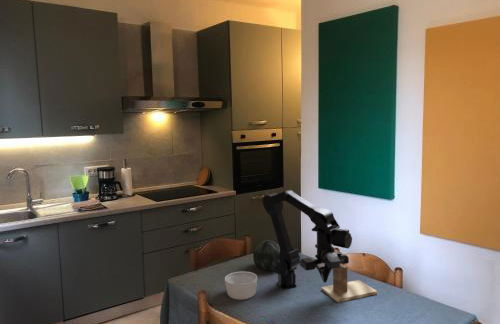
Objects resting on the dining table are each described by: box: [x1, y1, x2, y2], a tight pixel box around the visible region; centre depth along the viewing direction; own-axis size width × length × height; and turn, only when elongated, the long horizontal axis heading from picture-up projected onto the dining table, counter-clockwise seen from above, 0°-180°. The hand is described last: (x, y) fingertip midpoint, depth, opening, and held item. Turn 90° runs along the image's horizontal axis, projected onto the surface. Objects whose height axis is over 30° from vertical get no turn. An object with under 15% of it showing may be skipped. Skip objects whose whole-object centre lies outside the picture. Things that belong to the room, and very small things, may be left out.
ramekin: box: [224, 271, 258, 301], centre depth 162 cm, size 13×13×7 cm
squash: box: [252, 239, 280, 272], centre depth 189 cm, size 14×15×15 cm
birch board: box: [321, 279, 378, 303], centre depth 161 cm, size 18×12×1 cm, turn 110°
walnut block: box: [332, 263, 348, 294], centre depth 159 cm, size 4×4×10 cm
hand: (324, 282), depth 157 cm, fingers closed
